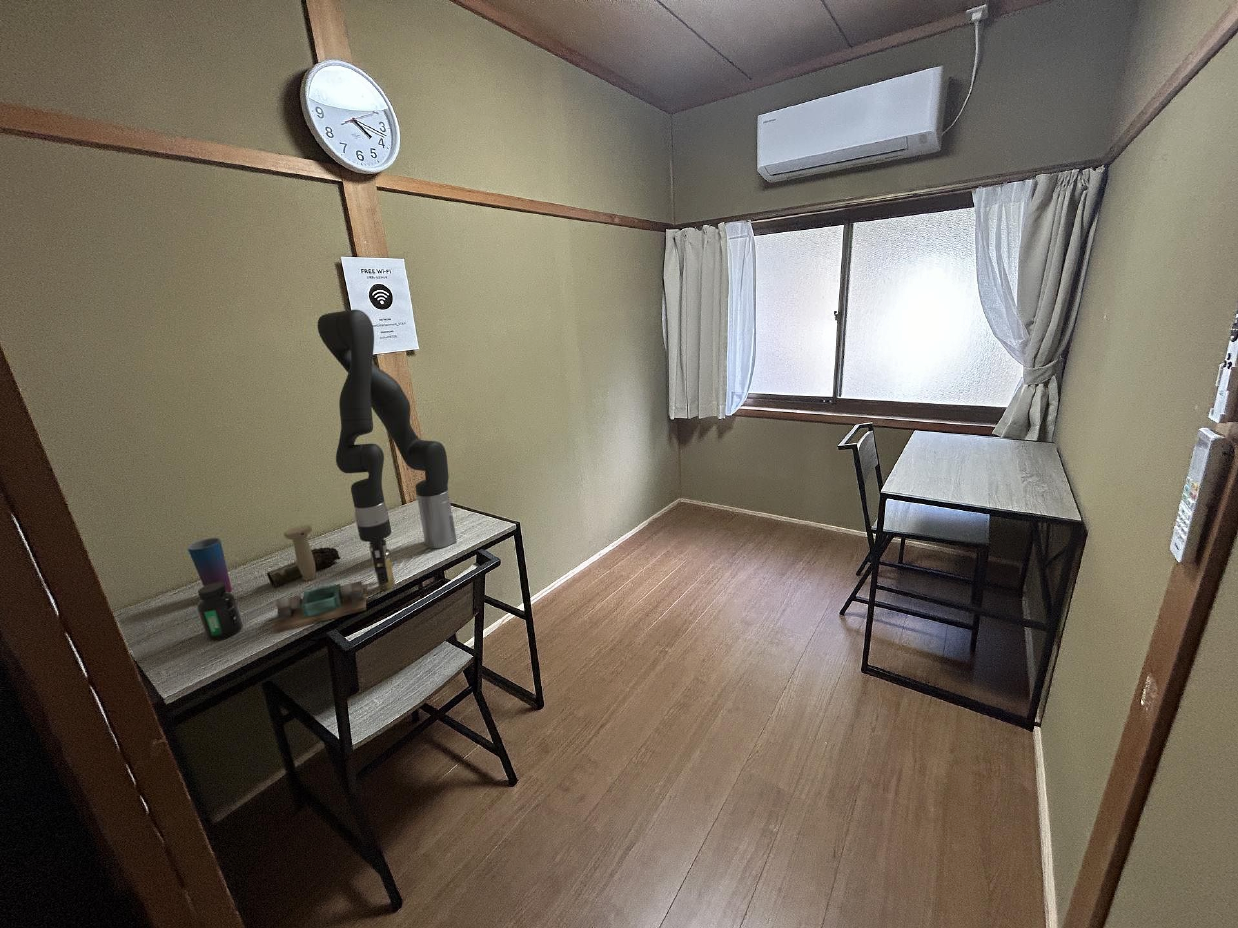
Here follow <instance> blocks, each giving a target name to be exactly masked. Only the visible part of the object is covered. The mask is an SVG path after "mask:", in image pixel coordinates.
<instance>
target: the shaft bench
mask: <svg viewBox="0 0 1238 928" xmlns="http://www.w3.org/2000/svg"><path fill="white" fill-rule="evenodd" d="M367 588H368V587H367V584H366V583H364V584H363V582H362V580H360V581H356V582H352V583H347V584H343V585H341V583H338V584H336V583H335V584H333V583H332V584H330V585H326V586H321V587H316V588H312V589H309V590H307V591H304V593H303V597H302V595H300V594H298V595H294V596H290V597H285V598H281V599H277V601H276V608H277V615H278V619H277V622H276V625H275V627H274V630H275V633H280V632H284V631H288V630H292V629H297V628H300V627H303V626H305V627H306V626H308V625H312V624H316V623H320V622H324V621H328V620H332V619H336V618H341V617H344V616H348V615H353V614H357V613H360V612H363V611H366V610H367V595H368V594H367V592H368V591H367V590H368V589H367Z"/></svg>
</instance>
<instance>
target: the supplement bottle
mask: <svg viewBox="0 0 1238 928" xmlns="http://www.w3.org/2000/svg"><path fill="white" fill-rule="evenodd" d="M226 591H227V590H226V588H225V585H224V583H221V582H218V583H212V584H209V585H206V586H202V587H200V588H199V589H198V590H197V593H198V598H199V602H198V603H197V606H196V609H197V612H198V615H199V618H200V619H199V620H200V622H201V624H202V627H203V631H204V634H205V636H206V638H207V640H209V641H212V642H213V641H214V642H216V641H217V642H218V641H223V640H225V639H229V638H231V637H233V636H235V635H236V634H238V633H239V632H240V631H241V630H242V629H243V627H244V624H243V620H242V618H241V614H240V610H239V608H238V604H237V601H236V598H235V596H234V594H233V593H232V592H231V593H229V592H226Z"/></svg>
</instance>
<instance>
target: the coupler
mask: <svg viewBox="0 0 1238 928" xmlns="http://www.w3.org/2000/svg"><path fill="white" fill-rule="evenodd" d="M390 550H391V549H389V548H387V550H386V554H387V561H386V566H387V575H388V583H384V584H379V580H378V575H377V573H376V572H375V576H376V580H377V585H378V589H379V590H380V591H387V590H388V591H389V590H391V589H393V588H394V587H395V586H396V582H395V577H394V572H393V567H392V561H391V551H390ZM383 556H384V555H383ZM370 558H371V560H372V556H371V555H370ZM377 565H378V567H380V566H383V564H382V563H379V564H377Z"/></svg>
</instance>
